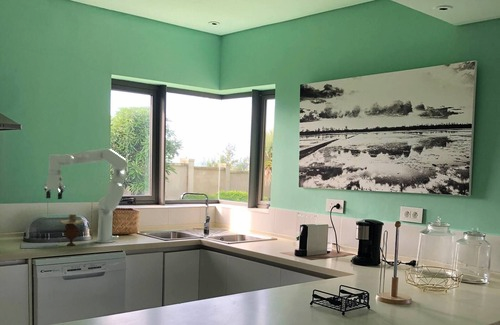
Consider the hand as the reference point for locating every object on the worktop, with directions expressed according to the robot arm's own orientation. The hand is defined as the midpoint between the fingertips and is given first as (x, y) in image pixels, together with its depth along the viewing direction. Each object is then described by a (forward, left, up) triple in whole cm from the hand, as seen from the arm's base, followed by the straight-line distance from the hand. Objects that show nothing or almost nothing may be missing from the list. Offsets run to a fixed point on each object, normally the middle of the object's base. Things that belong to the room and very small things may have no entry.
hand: (54, 198), depth 332 cm
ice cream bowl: (-12, +8, -30) cm, 33 cm away
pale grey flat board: (+7, +8, -30) cm, 32 cm away
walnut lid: (-12, +8, -15) cm, 20 cm away
